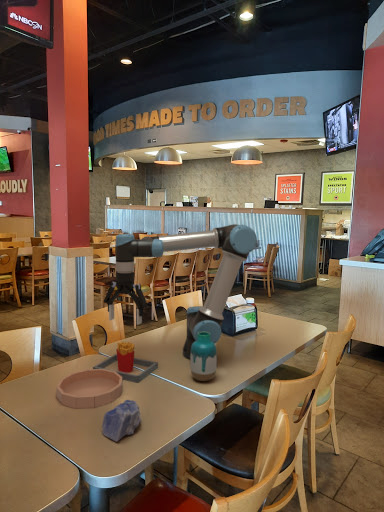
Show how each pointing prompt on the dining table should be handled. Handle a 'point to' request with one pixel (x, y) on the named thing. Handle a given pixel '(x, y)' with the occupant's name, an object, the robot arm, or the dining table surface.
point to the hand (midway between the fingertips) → (125, 321)
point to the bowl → (89, 388)
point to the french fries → (125, 357)
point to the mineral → (121, 420)
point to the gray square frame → (147, 363)
